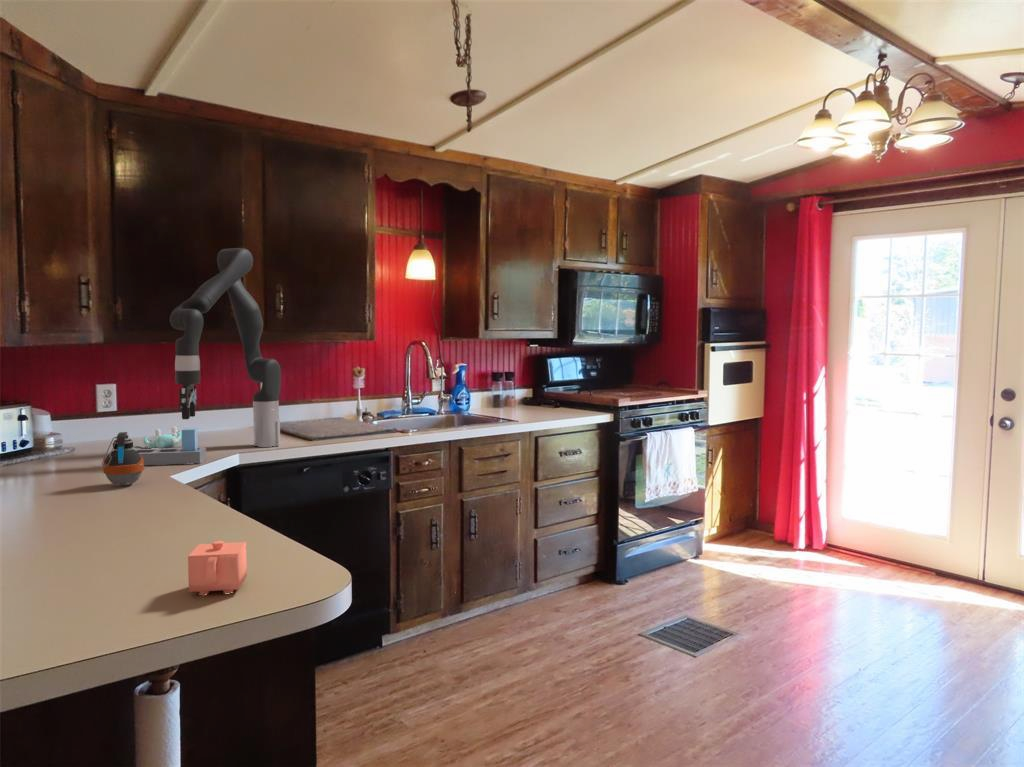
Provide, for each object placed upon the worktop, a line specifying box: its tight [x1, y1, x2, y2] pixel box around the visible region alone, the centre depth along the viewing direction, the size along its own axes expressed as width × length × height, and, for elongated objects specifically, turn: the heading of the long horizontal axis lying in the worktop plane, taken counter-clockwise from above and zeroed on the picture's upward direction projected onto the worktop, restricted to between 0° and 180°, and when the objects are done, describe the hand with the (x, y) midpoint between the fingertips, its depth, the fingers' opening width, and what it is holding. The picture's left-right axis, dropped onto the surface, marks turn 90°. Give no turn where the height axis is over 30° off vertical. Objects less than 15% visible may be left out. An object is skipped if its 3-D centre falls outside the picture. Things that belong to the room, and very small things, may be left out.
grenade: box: [101, 431, 145, 487], centre depth 200 cm, size 11×10×15 cm
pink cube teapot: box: [187, 540, 248, 595], centre depth 120 cm, size 8×12×8 cm, turn 10°
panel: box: [134, 446, 207, 466], centre depth 236 cm, size 22×10×4 cm, turn 103°
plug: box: [181, 427, 199, 451], centre depth 237 cm, size 4×4×11 cm
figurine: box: [143, 426, 182, 449], centre depth 271 cm, size 13×6×30 cm
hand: (188, 417), depth 236 cm, fingers open, 8 cm apart
